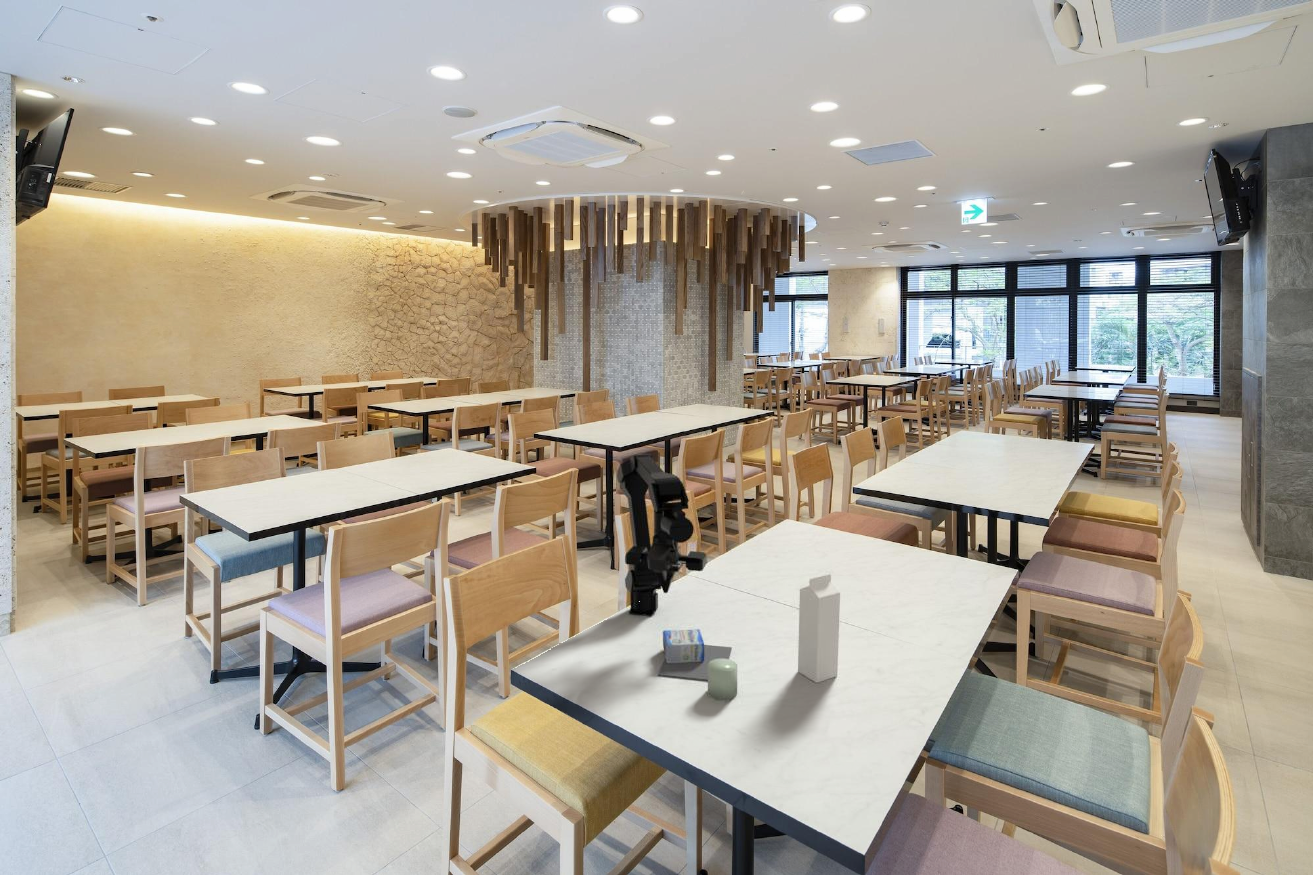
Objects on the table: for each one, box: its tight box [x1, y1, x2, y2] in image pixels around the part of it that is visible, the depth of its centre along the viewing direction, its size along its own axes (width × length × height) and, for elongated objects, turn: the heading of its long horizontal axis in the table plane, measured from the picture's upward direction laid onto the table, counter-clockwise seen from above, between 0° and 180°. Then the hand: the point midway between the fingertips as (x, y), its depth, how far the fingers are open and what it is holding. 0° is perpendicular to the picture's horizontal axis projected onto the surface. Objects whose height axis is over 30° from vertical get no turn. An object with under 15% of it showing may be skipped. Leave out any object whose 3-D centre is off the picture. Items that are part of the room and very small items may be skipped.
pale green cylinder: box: [707, 658, 738, 701], centre depth 141 cm, size 6×6×6 cm
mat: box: [657, 644, 732, 682], centre depth 155 cm, size 14×16×1 cm
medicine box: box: [662, 628, 705, 663], centre depth 157 cm, size 8×4×9 cm
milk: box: [797, 573, 841, 684], centre depth 147 cm, size 6×6×22 cm
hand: (665, 592), depth 165 cm, fingers closed
